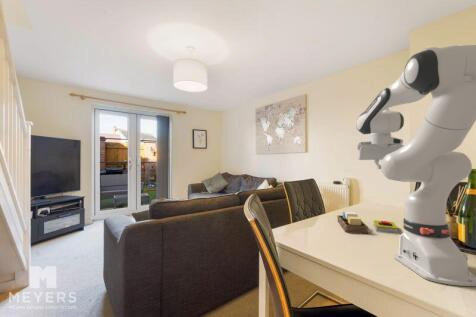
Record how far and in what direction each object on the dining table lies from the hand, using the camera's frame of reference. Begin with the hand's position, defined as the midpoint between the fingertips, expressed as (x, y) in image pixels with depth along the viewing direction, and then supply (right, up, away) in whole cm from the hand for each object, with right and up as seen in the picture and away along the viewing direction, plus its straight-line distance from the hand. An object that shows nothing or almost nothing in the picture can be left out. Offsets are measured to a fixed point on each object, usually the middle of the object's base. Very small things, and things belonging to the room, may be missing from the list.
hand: (381, 168), depth 109 cm
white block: (-11, -28, +8) cm, 31 cm away
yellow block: (-12, -29, +2) cm, 31 cm away
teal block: (-9, -30, +14) cm, 34 cm away
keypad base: (-11, -31, +8) cm, 34 cm away
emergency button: (+4, -32, +4) cm, 32 cm away
